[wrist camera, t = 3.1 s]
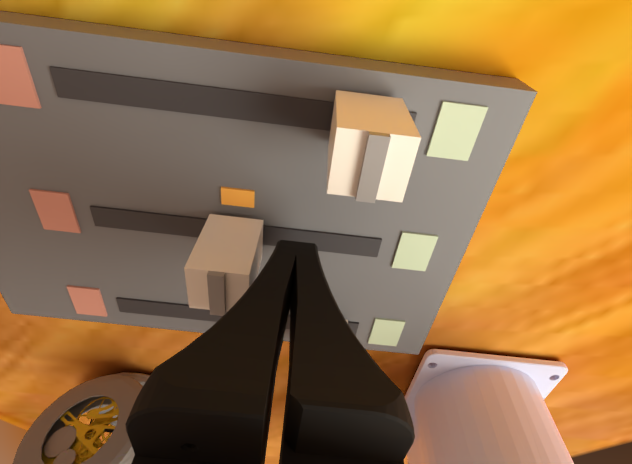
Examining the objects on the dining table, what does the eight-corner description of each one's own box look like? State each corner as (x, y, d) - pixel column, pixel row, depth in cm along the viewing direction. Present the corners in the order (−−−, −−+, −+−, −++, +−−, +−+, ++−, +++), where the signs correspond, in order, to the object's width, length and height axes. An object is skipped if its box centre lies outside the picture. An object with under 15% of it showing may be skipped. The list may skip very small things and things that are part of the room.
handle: (388, 153, 12) (403, 206, 10) (328, 146, 12) (326, 197, 10) (402, 98, 11) (423, 141, 9) (335, 89, 11) (337, 130, 9)
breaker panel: (413, 330, 20) (418, 356, 19) (31, 290, 19) (10, 314, 18) (517, 78, 13) (538, 92, 11) (-107, -4, 12) (-161, 2, 10)
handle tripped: (262, 256, 15) (247, 318, 13) (212, 251, 15) (187, 312, 12) (263, 219, 14) (248, 279, 12) (209, 213, 14) (181, 272, 11)
